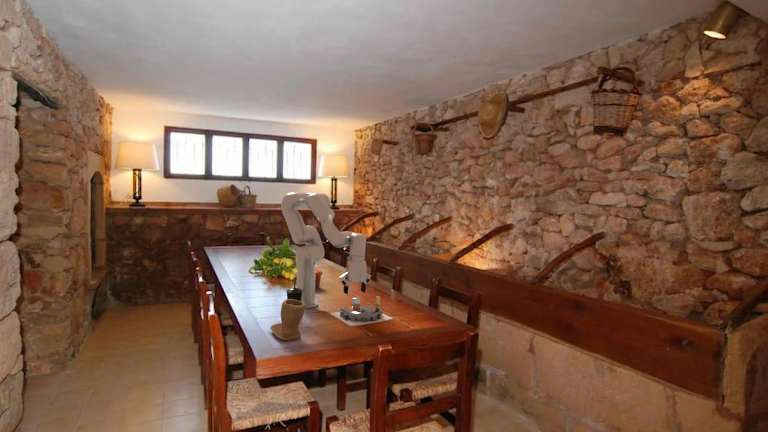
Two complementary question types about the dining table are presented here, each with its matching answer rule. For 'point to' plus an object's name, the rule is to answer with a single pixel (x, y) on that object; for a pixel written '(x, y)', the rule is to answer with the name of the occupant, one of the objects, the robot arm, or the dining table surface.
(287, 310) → the brown boot
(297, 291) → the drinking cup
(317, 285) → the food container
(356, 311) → the sprocket
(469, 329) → the dining table surface
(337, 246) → the robot arm
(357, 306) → the roller
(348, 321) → the board
